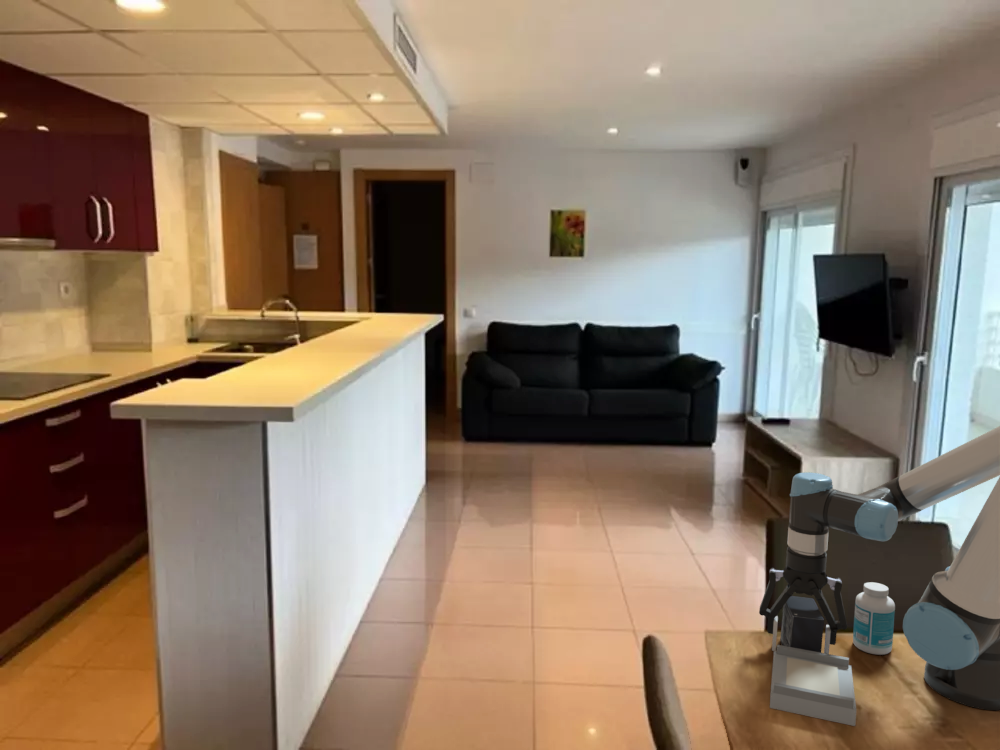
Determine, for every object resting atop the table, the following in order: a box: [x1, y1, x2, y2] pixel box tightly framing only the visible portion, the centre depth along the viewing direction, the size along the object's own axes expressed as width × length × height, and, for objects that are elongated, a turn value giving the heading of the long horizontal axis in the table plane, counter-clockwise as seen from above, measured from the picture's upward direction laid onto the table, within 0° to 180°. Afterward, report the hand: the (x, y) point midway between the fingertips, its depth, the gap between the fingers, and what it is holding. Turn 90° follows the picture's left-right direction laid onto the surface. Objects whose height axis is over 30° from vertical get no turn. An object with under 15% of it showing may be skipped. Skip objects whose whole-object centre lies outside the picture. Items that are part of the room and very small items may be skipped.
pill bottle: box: [852, 581, 896, 656], centre depth 154 cm, size 8×7×14 cm
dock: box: [769, 644, 857, 727], centre depth 137 cm, size 14×16×4 cm
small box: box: [779, 595, 825, 653], centre depth 151 cm, size 11×6×10 cm, turn 168°
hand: (799, 652), depth 152 cm, fingers open, 9 cm apart
